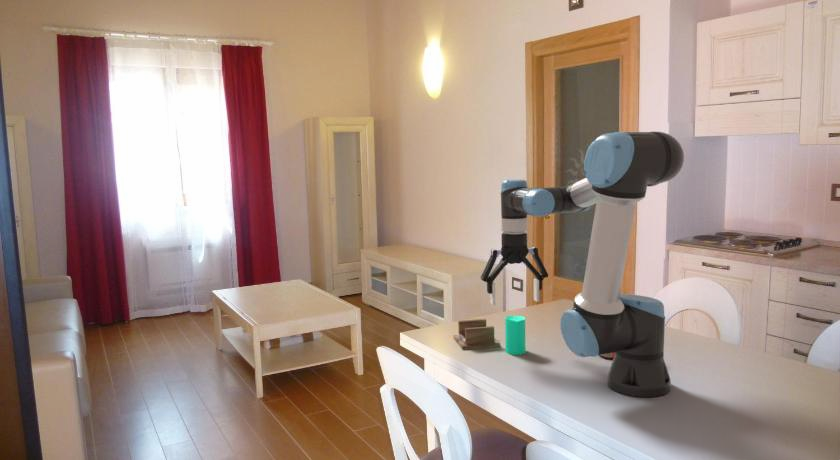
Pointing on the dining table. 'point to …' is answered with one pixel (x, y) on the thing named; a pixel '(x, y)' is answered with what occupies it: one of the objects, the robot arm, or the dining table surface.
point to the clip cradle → (475, 334)
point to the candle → (515, 334)
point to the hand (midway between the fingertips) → (514, 302)
